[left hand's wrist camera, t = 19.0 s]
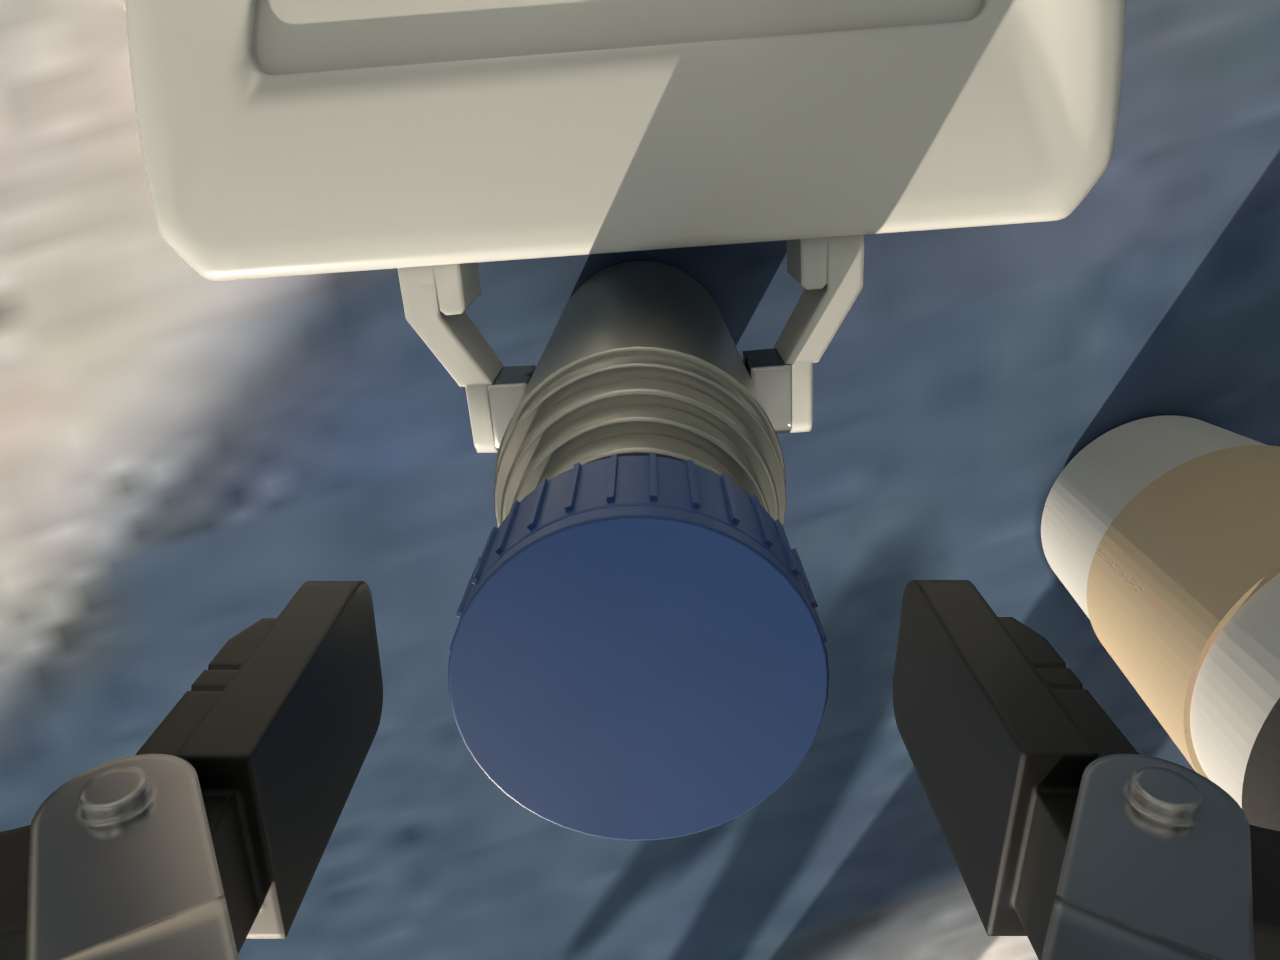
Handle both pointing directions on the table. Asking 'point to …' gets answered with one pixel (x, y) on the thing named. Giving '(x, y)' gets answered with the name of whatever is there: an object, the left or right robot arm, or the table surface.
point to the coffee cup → (1184, 587)
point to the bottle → (640, 390)
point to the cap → (638, 651)
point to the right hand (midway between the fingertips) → (645, 436)
